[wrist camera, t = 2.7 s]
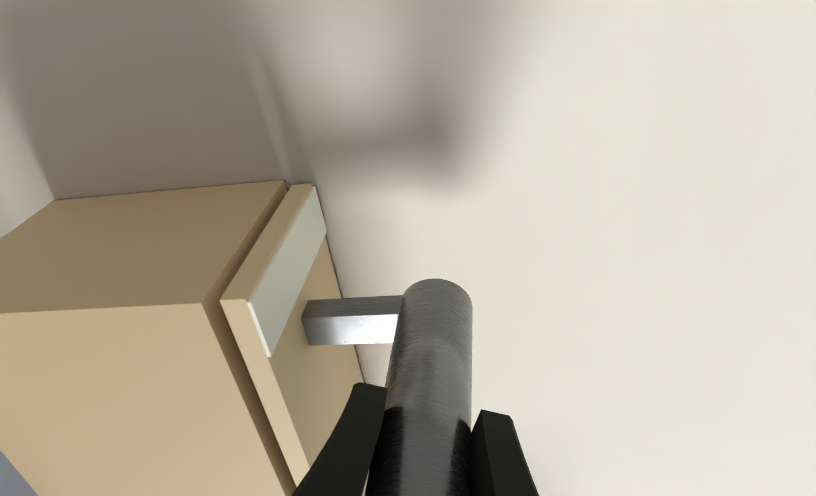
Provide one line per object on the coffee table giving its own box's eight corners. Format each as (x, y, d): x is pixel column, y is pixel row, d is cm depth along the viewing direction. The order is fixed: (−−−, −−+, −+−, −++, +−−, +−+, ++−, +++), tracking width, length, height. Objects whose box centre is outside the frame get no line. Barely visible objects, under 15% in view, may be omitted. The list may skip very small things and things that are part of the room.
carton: (184, 439, 24) (108, 580, 19) (53, 200, 18) (-109, 319, 13) (359, 437, 23) (326, 589, 18) (283, 179, 17) (200, 303, 12)
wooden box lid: (363, 437, 23) (300, 744, 14) (292, 184, 17) (111, 471, 8) (491, 436, 22) (498, 762, 14) (464, 169, 16) (451, 472, 8)
